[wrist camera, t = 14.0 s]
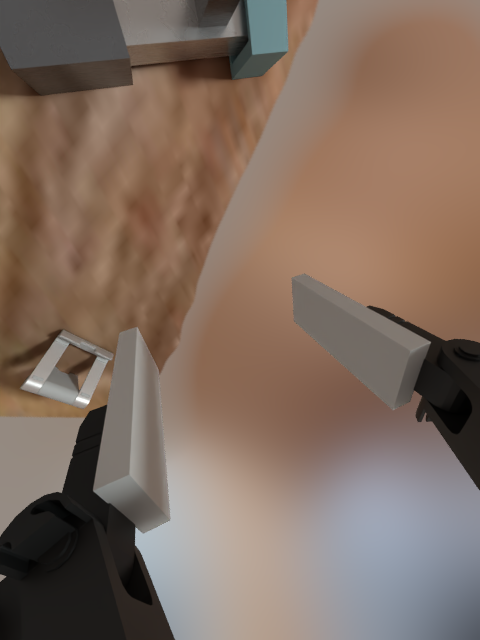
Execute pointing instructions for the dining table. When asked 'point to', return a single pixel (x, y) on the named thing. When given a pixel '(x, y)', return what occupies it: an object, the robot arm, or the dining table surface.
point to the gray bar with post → (181, 29)
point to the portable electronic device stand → (64, 385)
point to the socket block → (262, 38)
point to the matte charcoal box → (64, 44)
